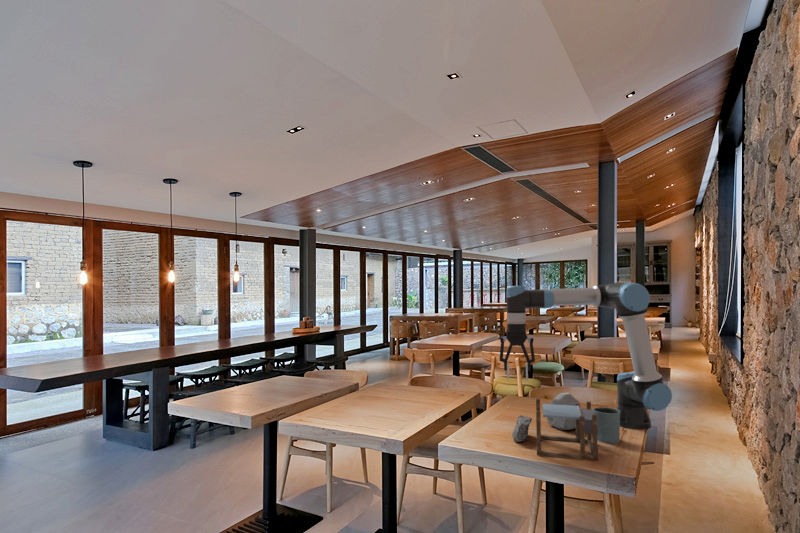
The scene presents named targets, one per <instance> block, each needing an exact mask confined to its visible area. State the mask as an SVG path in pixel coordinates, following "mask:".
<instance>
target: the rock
mask: <svg viewBox="0 0 800 533" xmlns="http://www.w3.org/2000/svg"><path fill="white" fill-rule="evenodd" d="M532 420H533V418H532V417H529V416H526V415H522V414H521V415H519V416H518V417H517V420H516V424H515V427H514V429H513V431H512V436H511V437H512V439H513V442H514V443H520V442H526V441H527V440H528V434H529V428H530V425H531V423H532Z"/></svg>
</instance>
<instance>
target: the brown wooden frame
mask: <svg viewBox="0 0 800 533" xmlns="http://www.w3.org/2000/svg"><path fill="white" fill-rule="evenodd" d="M535 400H536V401H535V405H536V406H535V407H536V408H535V416H536V418H535V420H536V421H535V422H536V455H537V456H542V455H544V457H553V458H554V457H555V458H567V459H578V460H587V461H598V460H599V459H598V458H599V456H598V454H599V452H598V451H599V450H598V449H599V447H598V444H599V443H598V440H597V415H596V414H592V434H589V433H585V423H584V416H580V420H579V419H576V428H575V437H573V436H571V437H570V436H563V435H562V436H559V435H549V434H548V435H547V434H542V429H541V428H542V424H541V398H538V397H537V398H536V399H535ZM577 405H578V406H579V407H580V406H581V404H580V402H579V403H575V406H577ZM591 406H592V403H591V401H590V400H589V401H588V400H587V401H586V409H587V410H592V407H591ZM542 440H549V441H561V442H562V441H563V442H575V443H579V445H580V446H579V447H580V449H579V451H580V452H579V453H572V452H571V453H569V452H560V451H557V452H556V451H546V450H542ZM586 443H587V446H588V448H589V451H590V454H586Z"/></svg>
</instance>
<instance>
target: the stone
mask: <svg viewBox="0 0 800 533" xmlns="http://www.w3.org/2000/svg"><path fill="white" fill-rule="evenodd" d="M575 403H579V404H580V401H579V400H578V399H577V398H575V396H573V395H572V393H570V392H561V393H559V394H558V395H557V396H556V397H554V398H553V399H552V401H551V402H550V404H553V405H569V406H575ZM580 409H583V407H582V405H580ZM546 419H547V423H548V424H549V425H550V426H551V427H552V426H553V428H556V429H558V430H560V431H566V430H567V431H568V430H569V431H571V430H573V429H574V430H575V429H576V419H565V418H550V417H546Z"/></svg>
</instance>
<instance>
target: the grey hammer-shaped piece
mask: <svg viewBox="0 0 800 533" xmlns="http://www.w3.org/2000/svg"><path fill="white" fill-rule="evenodd" d="M592 414H594V411H593V409H591V410H587V408H586V409H585V408H584V409H583V408H582V409H580V407H579V406H578V405H577V406H569V405H553V404H551V403H542V415H543V416H542V417H543V418H547V417H550V418H565V419H579V420H580V416H584V423H585V434H587V433H589V434H591V435H592ZM597 434H598V420H597Z"/></svg>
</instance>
